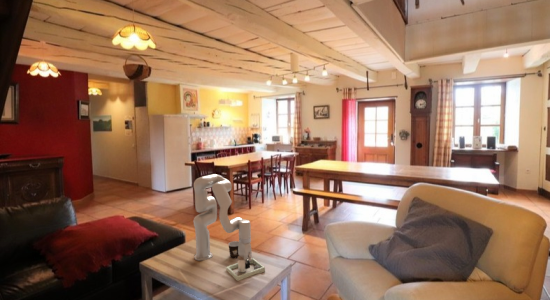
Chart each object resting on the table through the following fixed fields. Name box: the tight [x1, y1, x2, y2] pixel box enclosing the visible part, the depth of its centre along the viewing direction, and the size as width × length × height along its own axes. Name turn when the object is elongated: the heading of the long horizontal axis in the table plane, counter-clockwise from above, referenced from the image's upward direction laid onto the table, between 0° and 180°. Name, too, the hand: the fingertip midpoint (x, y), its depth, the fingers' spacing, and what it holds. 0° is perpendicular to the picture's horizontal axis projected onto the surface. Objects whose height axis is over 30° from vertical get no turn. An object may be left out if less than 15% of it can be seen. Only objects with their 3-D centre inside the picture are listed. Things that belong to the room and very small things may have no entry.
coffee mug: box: [228, 240, 239, 259], centre depth 200 cm, size 12×9×10 cm
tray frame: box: [225, 257, 266, 282], centre depth 182 cm, size 15×20×3 cm
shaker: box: [237, 255, 247, 273], centre depth 180 cm, size 5×5×9 cm
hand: (245, 266), depth 182 cm, fingers closed on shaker, 4 cm apart
